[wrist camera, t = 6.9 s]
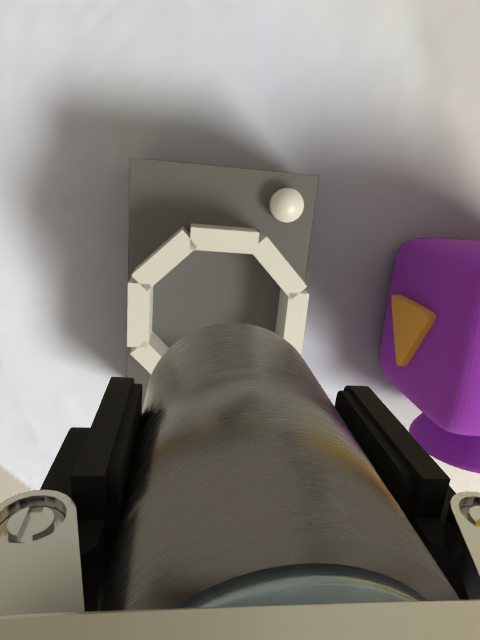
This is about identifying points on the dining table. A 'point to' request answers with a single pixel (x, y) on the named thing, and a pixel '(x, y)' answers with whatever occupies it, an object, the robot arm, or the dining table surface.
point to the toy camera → (437, 344)
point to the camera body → (213, 254)
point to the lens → (256, 490)
